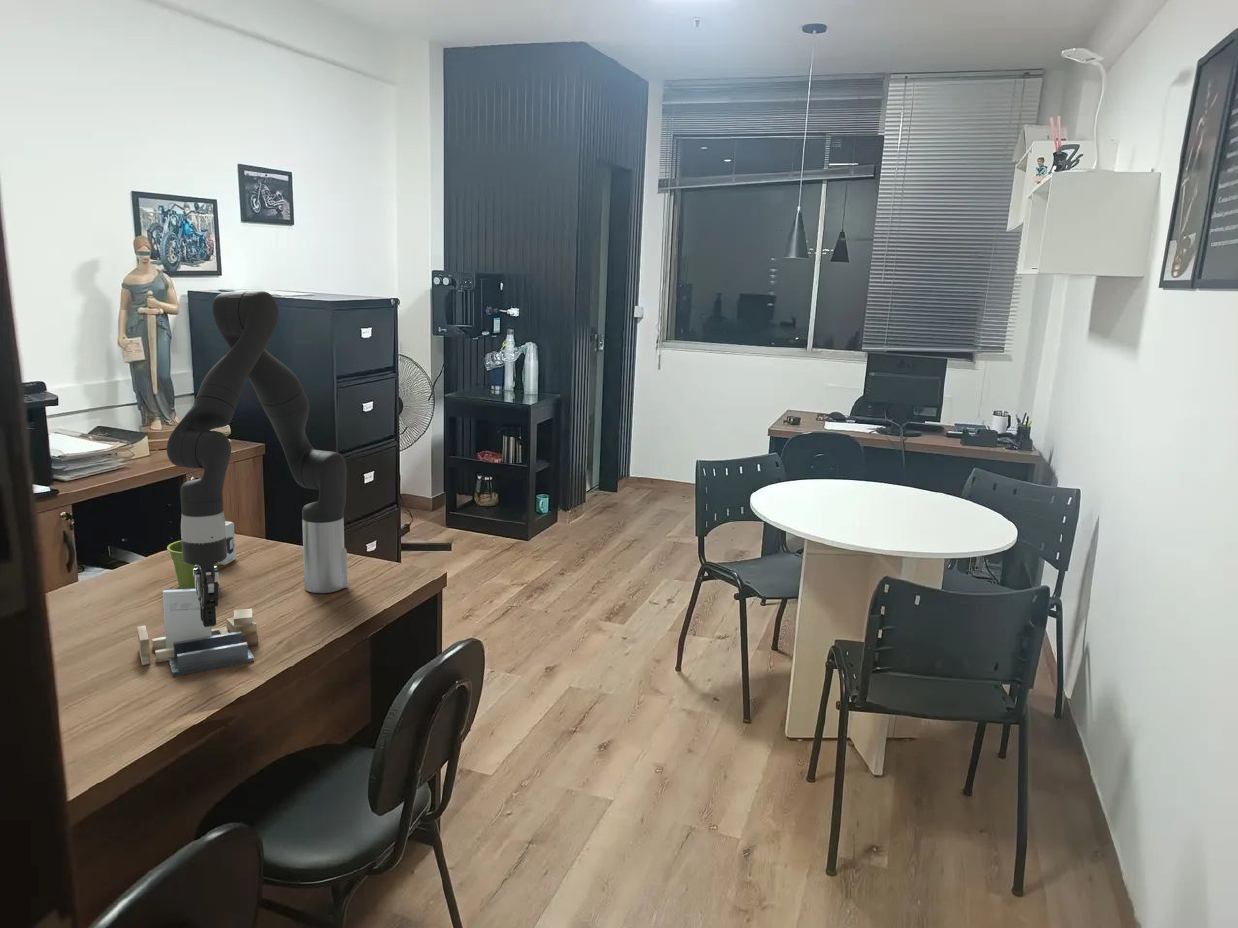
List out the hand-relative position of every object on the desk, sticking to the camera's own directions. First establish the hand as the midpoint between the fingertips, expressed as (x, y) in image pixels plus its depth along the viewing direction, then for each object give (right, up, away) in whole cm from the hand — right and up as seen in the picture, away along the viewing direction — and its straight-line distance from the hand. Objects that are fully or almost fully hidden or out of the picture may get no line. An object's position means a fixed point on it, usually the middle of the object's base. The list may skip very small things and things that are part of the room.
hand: (208, 622), depth 162 cm
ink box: (-24, +4, +54) cm, 59 cm away
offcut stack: (+1, -6, +12) cm, 13 cm away
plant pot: (-21, 0, +38) cm, 43 cm away
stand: (0, -8, +2) cm, 8 cm away
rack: (-7, -7, +7) cm, 12 cm away
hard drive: (-7, -7, +7) cm, 12 cm away
